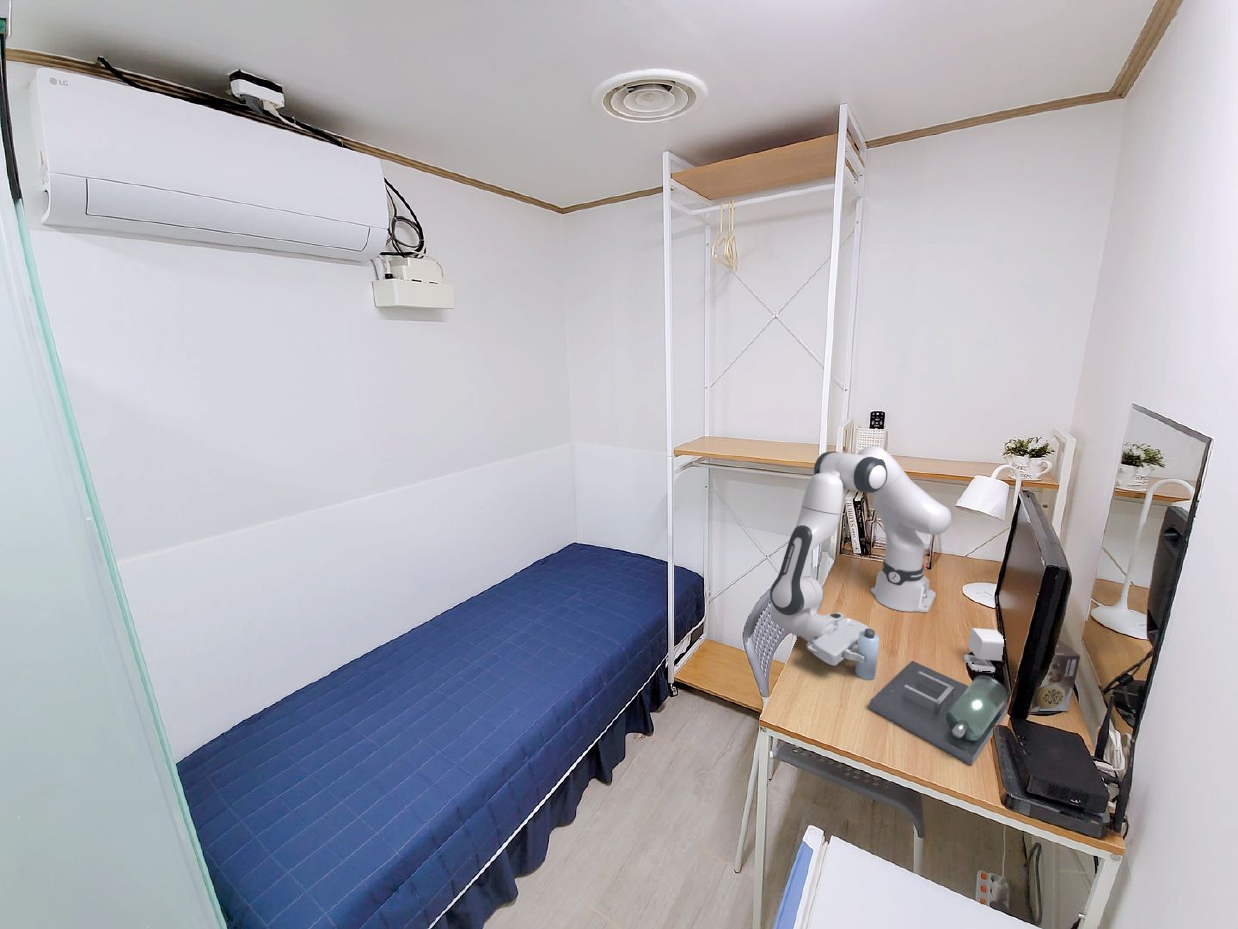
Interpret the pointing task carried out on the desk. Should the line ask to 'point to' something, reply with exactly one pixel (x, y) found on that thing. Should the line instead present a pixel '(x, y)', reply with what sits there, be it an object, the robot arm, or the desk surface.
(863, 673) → the capped plastic bottle
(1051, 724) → the desk surface
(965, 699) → the motor mount
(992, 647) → the security camera
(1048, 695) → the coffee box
